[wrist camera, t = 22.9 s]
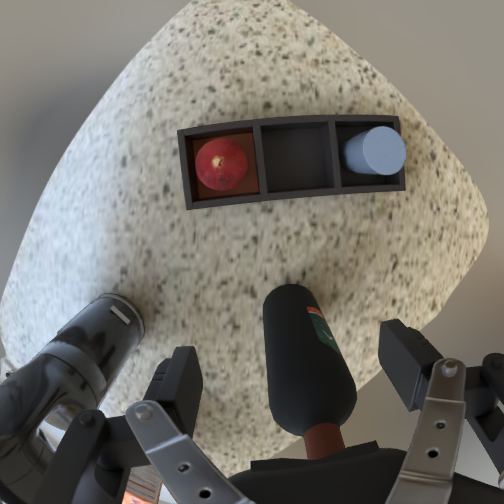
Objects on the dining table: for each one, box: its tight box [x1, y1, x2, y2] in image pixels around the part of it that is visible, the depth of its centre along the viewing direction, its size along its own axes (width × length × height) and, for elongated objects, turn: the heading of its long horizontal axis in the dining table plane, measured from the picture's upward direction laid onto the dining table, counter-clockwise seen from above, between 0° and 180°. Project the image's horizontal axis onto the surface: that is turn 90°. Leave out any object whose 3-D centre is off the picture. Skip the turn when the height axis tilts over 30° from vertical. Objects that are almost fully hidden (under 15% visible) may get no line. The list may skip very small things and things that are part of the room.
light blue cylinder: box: [338, 126, 406, 175], centre depth 31 cm, size 5×5×9 cm
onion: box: [195, 138, 248, 191], centre depth 32 cm, size 6×6×8 cm
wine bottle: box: [263, 284, 357, 460], centre depth 27 cm, size 8×8×30 cm
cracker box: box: [122, 465, 163, 504], centre depth 37 cm, size 14×6×21 cm, turn 143°
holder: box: [177, 115, 406, 210], centre depth 34 cm, size 26×9×5 cm, turn 96°
